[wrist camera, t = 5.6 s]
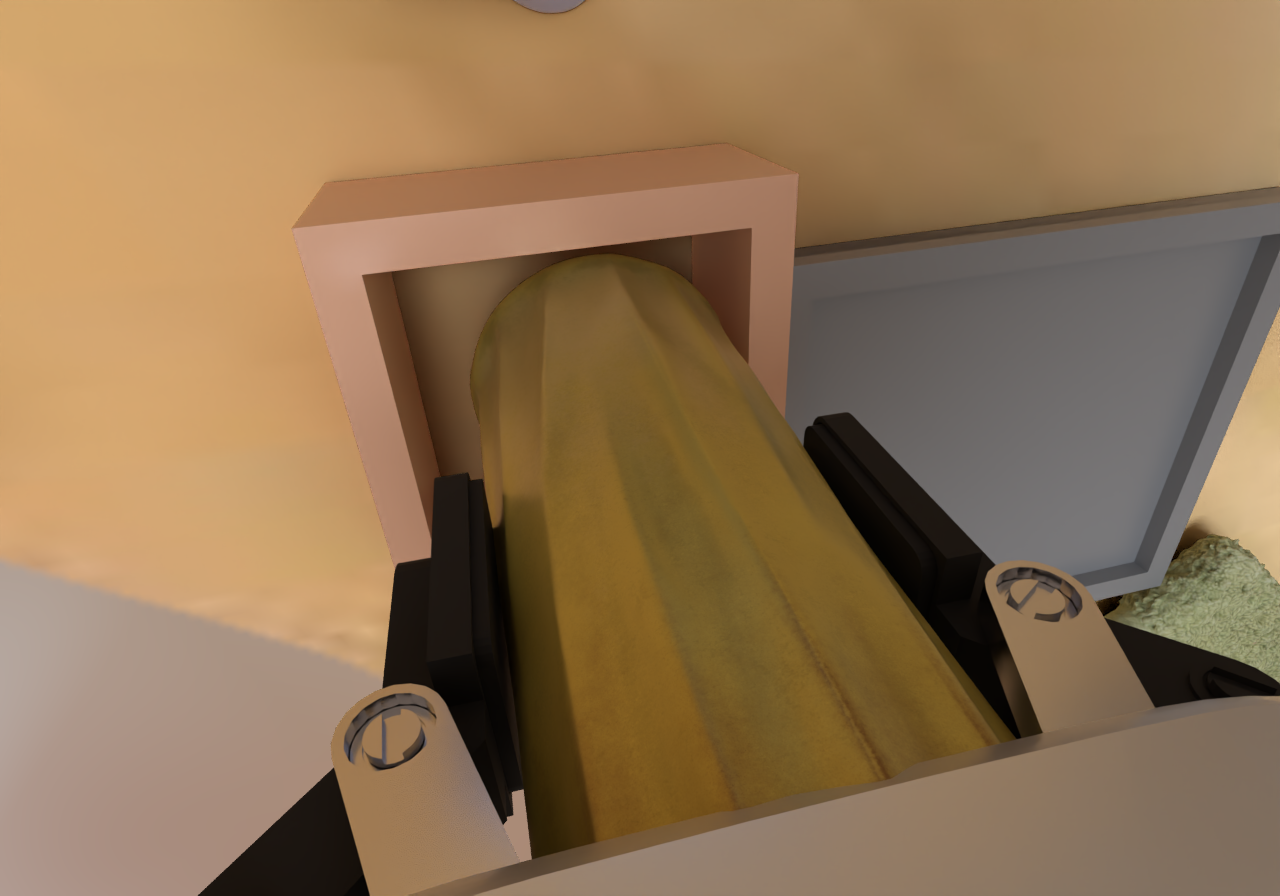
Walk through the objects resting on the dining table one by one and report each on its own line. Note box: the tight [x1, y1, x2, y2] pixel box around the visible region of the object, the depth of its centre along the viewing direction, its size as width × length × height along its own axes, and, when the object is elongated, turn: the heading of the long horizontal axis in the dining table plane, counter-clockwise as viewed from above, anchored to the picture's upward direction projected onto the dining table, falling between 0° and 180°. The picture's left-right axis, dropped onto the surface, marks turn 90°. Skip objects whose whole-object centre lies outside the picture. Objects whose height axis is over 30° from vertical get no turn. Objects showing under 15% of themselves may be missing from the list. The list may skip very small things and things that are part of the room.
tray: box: [785, 187, 1280, 601], centre depth 25 cm, size 18×16×2 cm
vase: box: [470, 253, 1017, 859], centre depth 11 cm, size 6×6×14 cm
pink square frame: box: [292, 143, 799, 568], centre depth 19 cm, size 10×10×4 cm
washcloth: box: [1104, 534, 1280, 683], centre depth 35 cm, size 13×18×3 cm
